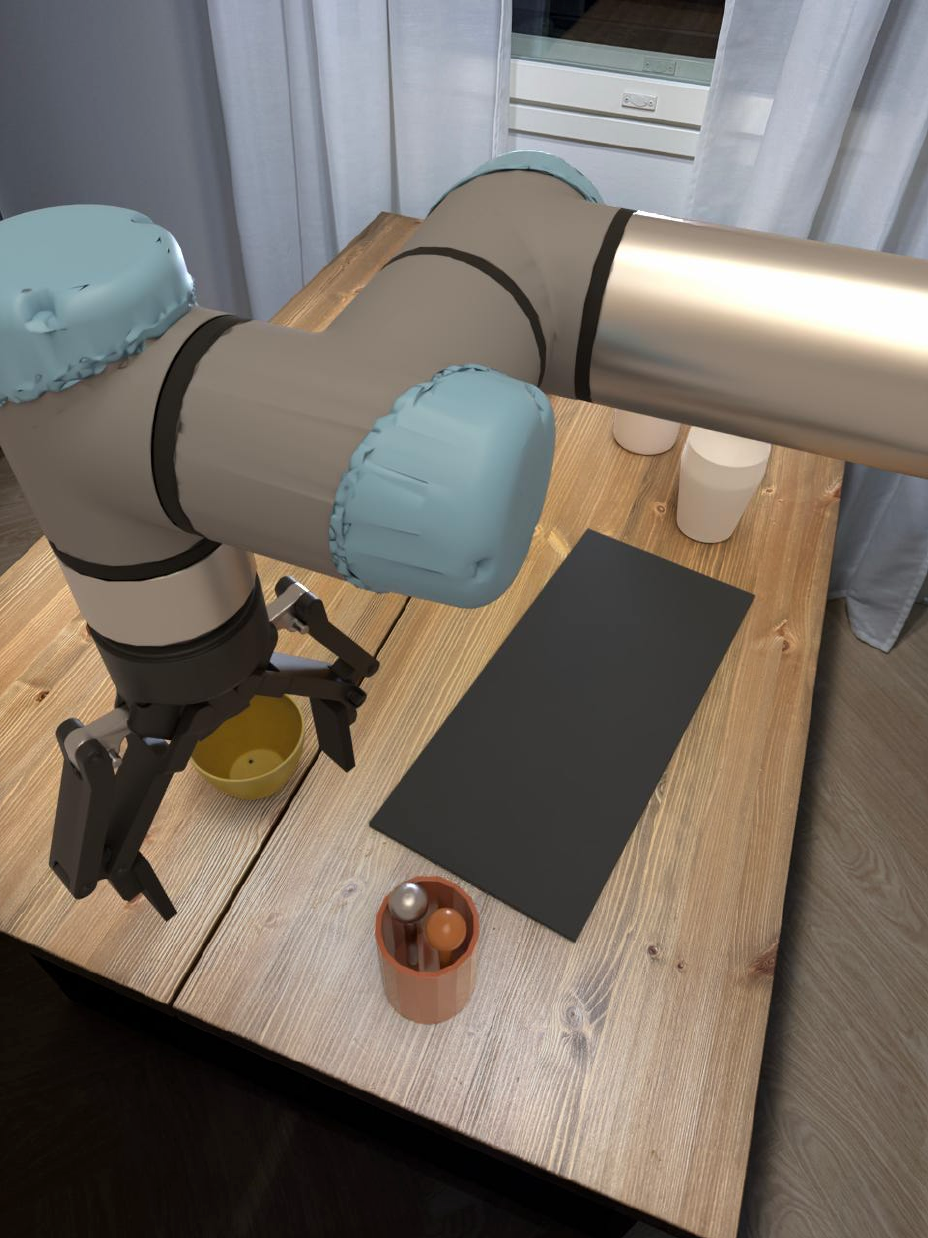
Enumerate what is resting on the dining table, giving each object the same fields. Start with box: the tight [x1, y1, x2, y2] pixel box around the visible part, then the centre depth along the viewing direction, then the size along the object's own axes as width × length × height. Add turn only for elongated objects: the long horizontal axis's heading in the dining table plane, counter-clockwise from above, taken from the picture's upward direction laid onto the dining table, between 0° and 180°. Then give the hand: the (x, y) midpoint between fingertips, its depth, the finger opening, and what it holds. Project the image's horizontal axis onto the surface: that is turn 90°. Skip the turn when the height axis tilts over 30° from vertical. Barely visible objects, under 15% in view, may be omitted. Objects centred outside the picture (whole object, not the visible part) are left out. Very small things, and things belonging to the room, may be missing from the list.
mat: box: [368, 528, 756, 944], centre depth 87 cm, size 44×20×1 cm, turn 149°
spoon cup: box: [374, 875, 480, 1025], centre depth 66 cm, size 7×7×10 cm
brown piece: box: [425, 908, 466, 970], centre depth 64 cm, size 3×3×12 cm
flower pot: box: [189, 694, 306, 801], centre depth 78 cm, size 10×10×7 cm
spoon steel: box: [388, 881, 429, 966], centre depth 65 cm, size 3×3×12 cm
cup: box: [676, 426, 772, 544], centre depth 99 cm, size 9×9×12 cm
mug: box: [612, 408, 682, 456], centre depth 112 cm, size 12×8×10 cm
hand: (253, 825), depth 55 cm, fingers open, 13 cm apart
